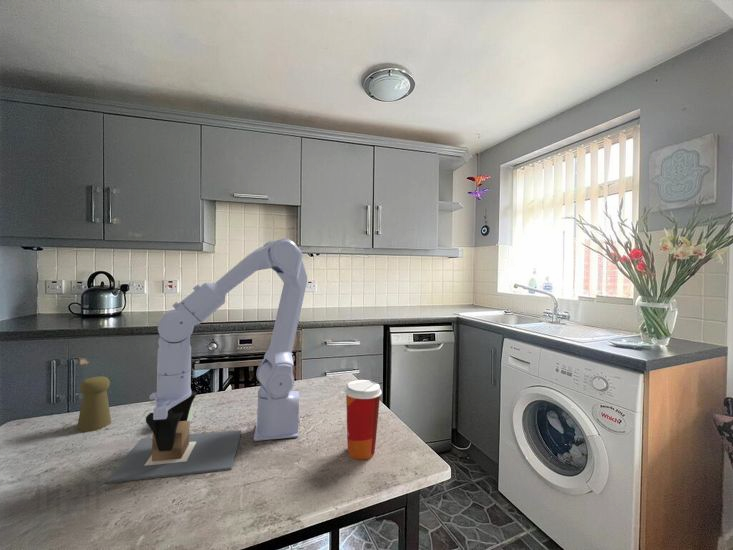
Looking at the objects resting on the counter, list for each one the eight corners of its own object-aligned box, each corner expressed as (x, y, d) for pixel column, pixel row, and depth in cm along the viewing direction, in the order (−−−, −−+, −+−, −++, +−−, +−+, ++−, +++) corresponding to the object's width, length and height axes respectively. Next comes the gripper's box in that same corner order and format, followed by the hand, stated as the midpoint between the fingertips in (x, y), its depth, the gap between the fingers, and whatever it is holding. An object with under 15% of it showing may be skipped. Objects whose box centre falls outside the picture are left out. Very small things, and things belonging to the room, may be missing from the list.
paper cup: (361, 438, 72) (363, 376, 71) (387, 453, 66) (389, 386, 66) (334, 451, 66) (336, 384, 66) (359, 468, 61) (362, 395, 61)
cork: (91, 433, 70) (92, 383, 70) (69, 430, 71) (70, 380, 71) (117, 421, 76) (118, 375, 75) (97, 417, 77) (98, 372, 77)
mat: (241, 431, 73) (241, 429, 73) (231, 469, 59) (231, 466, 59) (141, 440, 68) (141, 438, 68) (105, 483, 54) (105, 480, 54)
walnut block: (189, 444, 66) (189, 420, 66) (181, 458, 61) (181, 432, 61) (162, 446, 65) (162, 422, 65) (151, 461, 60) (152, 435, 60)
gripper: (165, 361, 69) (163, 423, 69) (134, 385, 55) (132, 463, 55) (200, 359, 70) (199, 420, 71) (179, 382, 56) (177, 458, 57)
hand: (172, 439), depth 63 cm, fingers open, 7 cm apart
